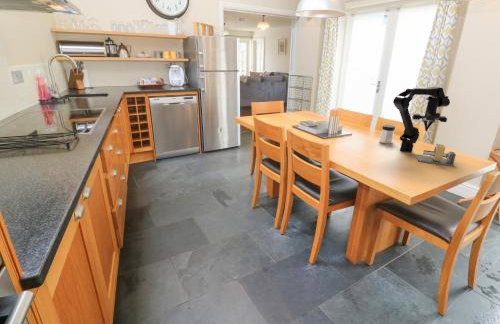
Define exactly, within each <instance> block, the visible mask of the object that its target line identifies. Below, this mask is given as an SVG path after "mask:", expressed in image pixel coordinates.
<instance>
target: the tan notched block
mask: <svg viewBox="0 0 500 324" xmlns="http://www.w3.org/2000/svg"><path fill="white" fill-rule="evenodd" d="M433 151H435V155H434V156H431V157H432V158H433V160H436V161H442V158H444V157H443V155H444V153H445V151H446V146H445V145H444V144H442V143H441V144H440V143H436V144H435V146H434V149H433Z"/></svg>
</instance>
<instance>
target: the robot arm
mask: <svg viewBox="0 0 500 324" xmlns="http://www.w3.org/2000/svg"><path fill="white" fill-rule="evenodd" d="M415 95H417V96H418V95H419V96H422V95H423V96H428V97H426V98H425V100H427V104H426V109H425V112H424V115H421V114H419V113H413V114H412V117H411V113H410V111H409V107H410V102H412V100H413V99H414V97H415ZM392 102H393V105H394V107H395V108H396V109H397V110H398V111H399V114H400V118H401V120H402V123H403V127H404V130H403V134H401V136H400V137H399V140H400V141H401V143H400V147H399V151H400V152H406V153H412V152H413V148H414V144H416V143H417V141H418V139H419V137H420V131H419V128H418V127H416V126H414V123H413V121H412V120H418V121H419V120H420V119H421V121H422V122H423V124H424V131H425V132H427V131H428V130H429V128H430V127H431V126H432V125H433V124H434V123H436V121H439V122H440V123H447V121H448V117H446V115H445V116H444V115H441V112H437V110H438V108H446V107H448V106H449V105H450V103H451V102H450V99H449V96H448V95H445V92H444V88H443V87H440V86H429V87H424V88H421V87H416V88H415V87H408V88H407V89H406V90H404V91H402V92H400V93H399V94H397V96H395V97H394V99H393V100H392Z"/></svg>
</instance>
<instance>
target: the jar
mask: <svg viewBox="0 0 500 324" xmlns="http://www.w3.org/2000/svg"><path fill="white" fill-rule="evenodd" d="M381 128H382V129H381V132H380V136H379V137H380V138H379V142H380V143H382V144H392V142H393V139H394V134H395V130H396V126H395V125H391V124H383V125H382V127H381Z"/></svg>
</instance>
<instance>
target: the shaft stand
mask: <svg viewBox="0 0 500 324" xmlns="http://www.w3.org/2000/svg"><path fill="white" fill-rule="evenodd" d="M434 155H435V151H434V150H433V151H432V150H428V149H427V150H425V149H424V150H423V152H422V155H419V154H416V159H417V162H420V163H427V164H431V165H432V164H433V165H440V166H441V165H442V166H448V167H454V166H455V163H454V162H455V159H456V155H457V154H456V153H455V151H447V153H445V152H444V155H443V158H442V161H436V160H433V158H432V156H434Z"/></svg>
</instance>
